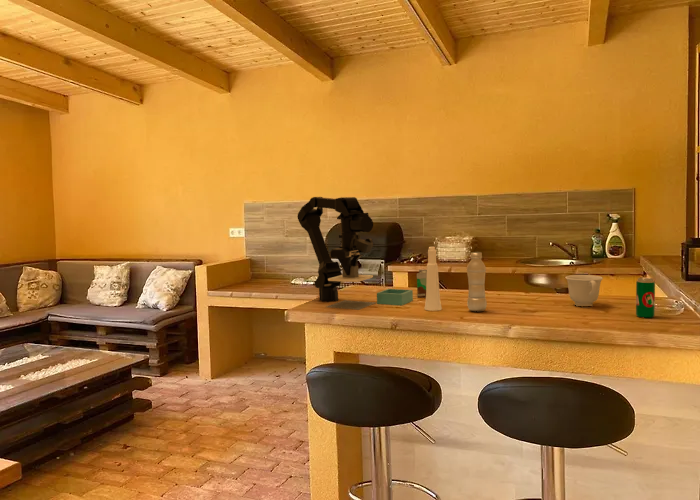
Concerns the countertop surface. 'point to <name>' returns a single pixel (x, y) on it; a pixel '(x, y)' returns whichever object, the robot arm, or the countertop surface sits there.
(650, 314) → the soda can
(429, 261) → the cosmetic bottle
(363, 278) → the lid
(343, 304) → the mat
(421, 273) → the food container
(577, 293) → the teacup
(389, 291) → the dish
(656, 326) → the countertop surface
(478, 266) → the plastic bottle
